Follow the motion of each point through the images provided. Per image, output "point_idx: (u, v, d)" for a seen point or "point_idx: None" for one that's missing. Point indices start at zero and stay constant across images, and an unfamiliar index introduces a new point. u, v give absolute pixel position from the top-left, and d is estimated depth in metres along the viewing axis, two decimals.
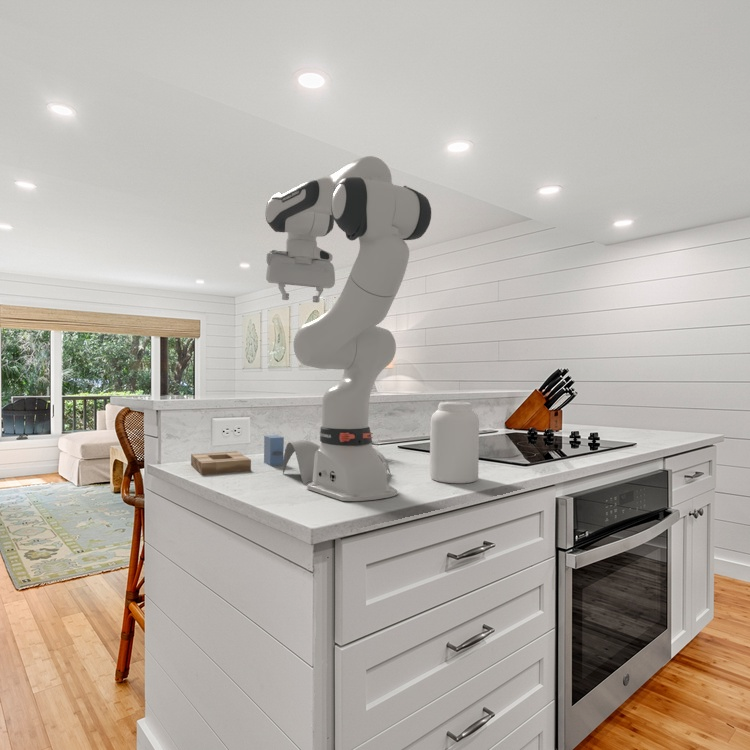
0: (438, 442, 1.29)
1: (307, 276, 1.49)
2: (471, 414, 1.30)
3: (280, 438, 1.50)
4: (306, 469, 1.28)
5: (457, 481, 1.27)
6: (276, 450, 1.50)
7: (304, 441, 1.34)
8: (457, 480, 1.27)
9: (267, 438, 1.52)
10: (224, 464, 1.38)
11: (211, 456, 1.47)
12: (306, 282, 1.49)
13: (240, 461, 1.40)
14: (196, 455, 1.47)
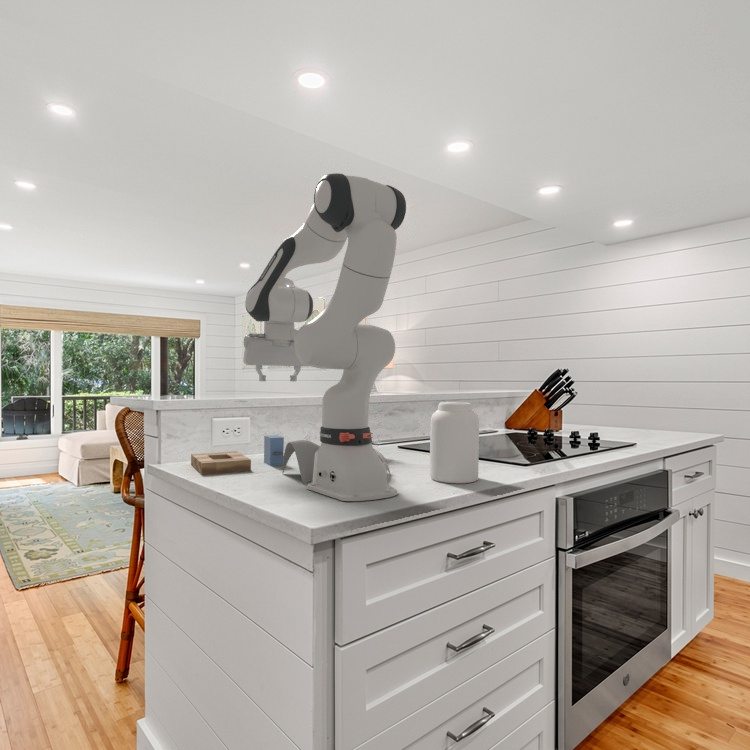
0: (438, 442, 1.29)
1: (284, 358, 1.51)
2: (471, 414, 1.30)
3: (280, 438, 1.50)
4: (306, 469, 1.28)
5: (457, 481, 1.27)
6: (276, 450, 1.50)
7: (304, 441, 1.34)
8: (457, 480, 1.27)
9: (267, 438, 1.52)
10: (224, 464, 1.38)
11: (211, 456, 1.47)
12: (283, 363, 1.51)
13: (240, 461, 1.40)
14: (196, 455, 1.47)
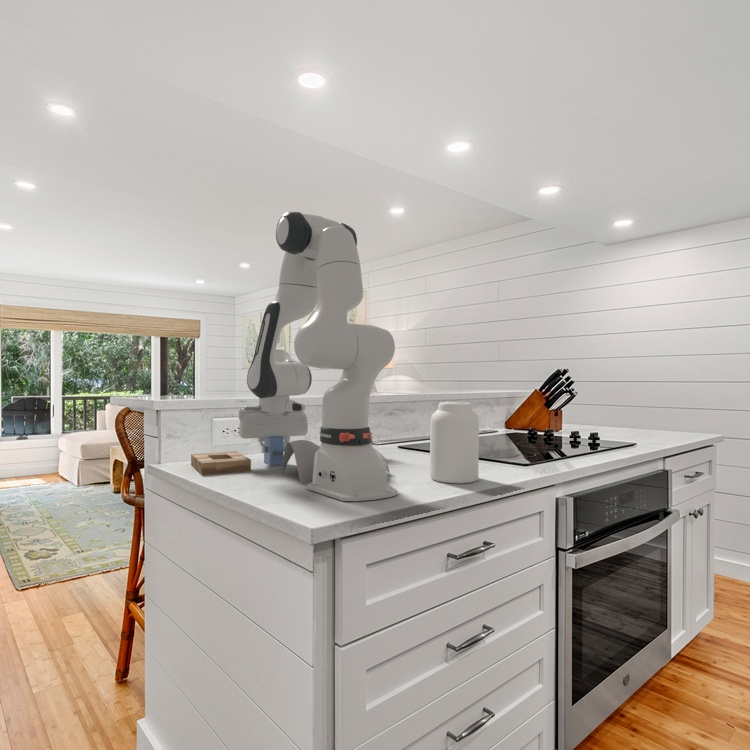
0: (438, 442, 1.29)
1: (280, 429, 1.51)
2: (471, 414, 1.30)
3: (280, 438, 1.50)
4: (304, 469, 1.29)
5: (457, 481, 1.27)
6: (276, 450, 1.50)
7: (303, 441, 1.34)
8: (457, 480, 1.27)
9: (267, 438, 1.52)
10: (224, 464, 1.38)
11: (211, 456, 1.47)
12: (278, 435, 1.51)
13: (240, 461, 1.40)
14: (196, 455, 1.47)
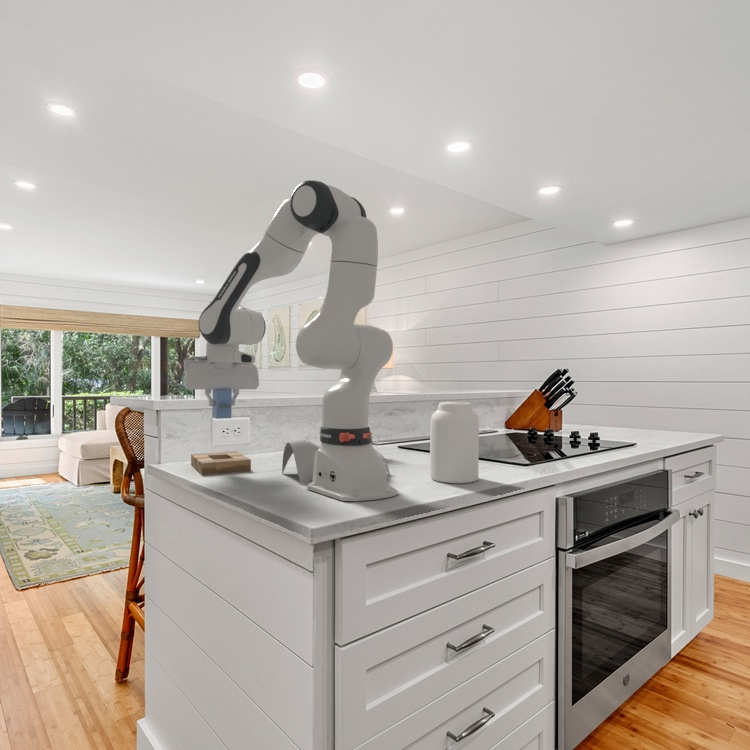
0: (438, 442, 1.29)
1: (228, 381, 1.44)
2: (471, 414, 1.30)
3: (228, 390, 1.43)
4: (304, 469, 1.29)
5: (457, 481, 1.27)
6: (223, 402, 1.43)
7: (303, 441, 1.34)
8: (457, 480, 1.27)
9: (214, 391, 1.44)
10: (224, 464, 1.38)
11: (211, 456, 1.47)
12: (226, 387, 1.44)
13: (240, 461, 1.40)
14: (196, 455, 1.47)
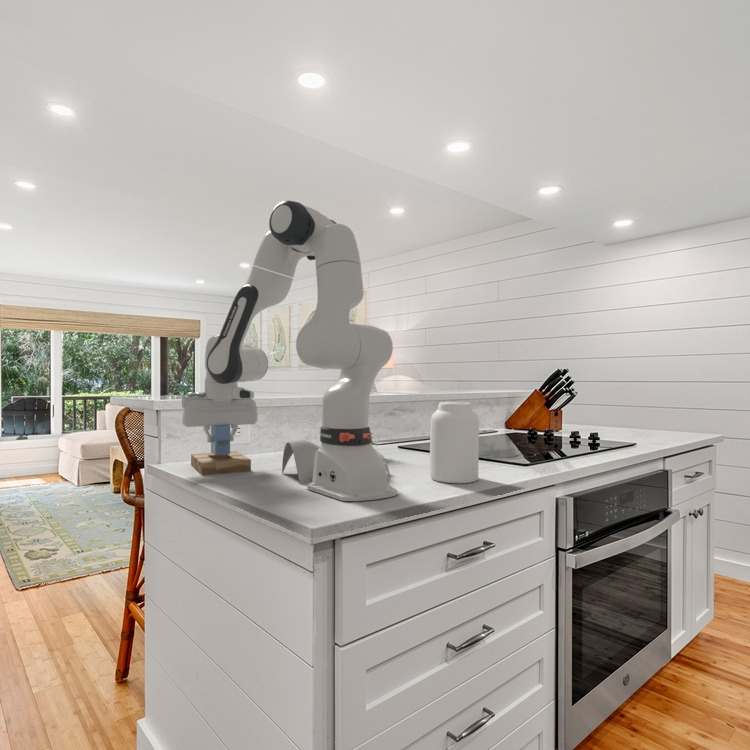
0: (438, 442, 1.29)
1: (226, 417, 1.44)
2: (471, 414, 1.30)
3: (226, 426, 1.43)
4: (304, 469, 1.29)
5: (457, 481, 1.27)
6: (222, 439, 1.42)
7: (302, 441, 1.34)
8: (457, 480, 1.27)
9: (213, 427, 1.44)
10: (224, 464, 1.38)
11: (211, 456, 1.47)
12: (225, 423, 1.44)
13: (240, 461, 1.40)
14: (196, 455, 1.47)
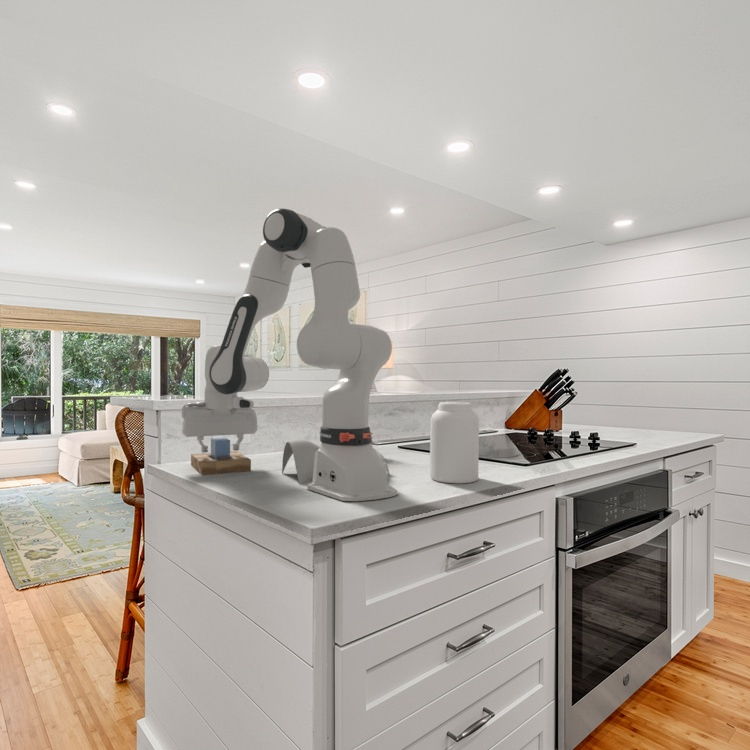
0: (438, 442, 1.29)
1: (226, 427, 1.44)
2: (471, 414, 1.30)
3: (226, 441, 1.43)
4: (303, 469, 1.29)
5: (457, 481, 1.27)
6: (222, 454, 1.42)
7: (302, 441, 1.34)
8: (457, 480, 1.27)
9: (213, 441, 1.44)
10: (224, 464, 1.38)
11: None
12: (225, 433, 1.44)
13: (240, 461, 1.40)
14: (196, 455, 1.47)
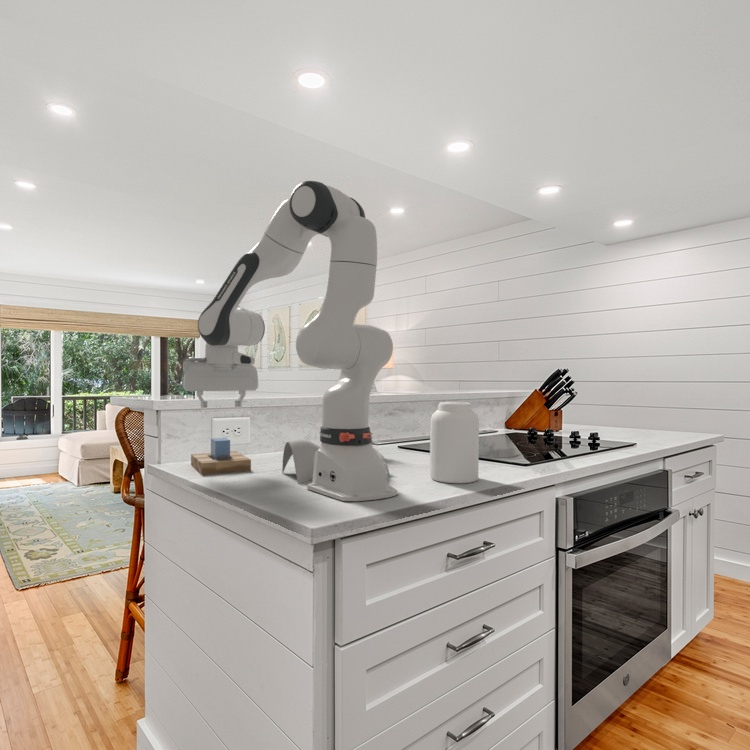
0: (438, 442, 1.29)
1: (227, 382, 1.44)
2: (471, 414, 1.30)
3: (226, 441, 1.43)
4: (302, 469, 1.29)
5: (457, 481, 1.27)
6: (222, 454, 1.42)
7: (302, 441, 1.34)
8: (457, 480, 1.27)
9: (213, 441, 1.44)
10: (224, 464, 1.38)
11: None
12: (226, 388, 1.44)
13: (240, 461, 1.40)
14: (196, 455, 1.47)
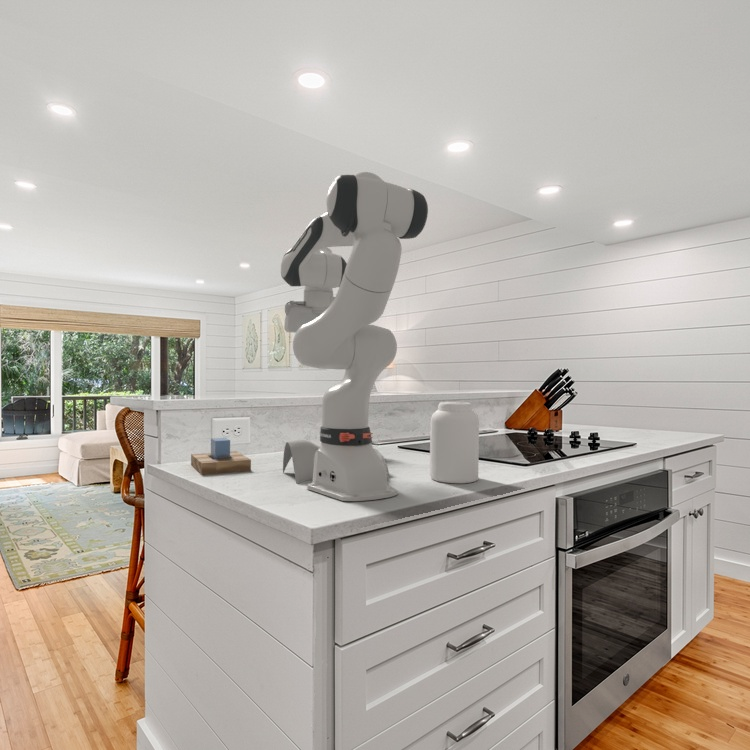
0: (438, 442, 1.29)
1: None
2: (471, 414, 1.30)
3: (226, 441, 1.43)
4: (301, 469, 1.29)
5: (457, 481, 1.27)
6: (222, 454, 1.42)
7: (302, 441, 1.35)
8: (457, 480, 1.27)
9: (213, 441, 1.44)
10: (224, 464, 1.38)
11: None
12: None
13: (240, 461, 1.40)
14: (196, 455, 1.47)
